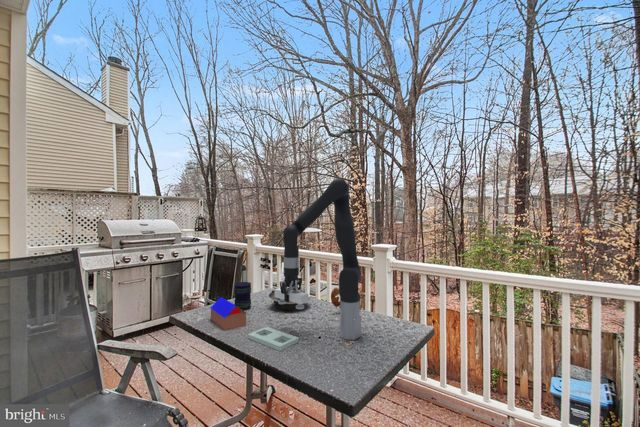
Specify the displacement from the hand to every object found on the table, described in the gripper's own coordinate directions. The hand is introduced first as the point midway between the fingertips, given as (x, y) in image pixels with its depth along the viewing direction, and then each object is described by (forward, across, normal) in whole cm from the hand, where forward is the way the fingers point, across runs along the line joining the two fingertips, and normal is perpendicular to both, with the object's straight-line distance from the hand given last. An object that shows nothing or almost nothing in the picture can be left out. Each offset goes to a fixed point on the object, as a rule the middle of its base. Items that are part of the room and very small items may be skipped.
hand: (291, 300), depth 154 cm
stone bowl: (+16, +28, +28) cm, 43 cm away
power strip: (+2, 0, 0) cm, 2 cm away
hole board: (+15, -12, 0) cm, 20 cm away
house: (+16, -12, +35) cm, 40 cm away
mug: (+16, +39, -5) cm, 42 cm away
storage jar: (+16, +8, +48) cm, 51 cm away
